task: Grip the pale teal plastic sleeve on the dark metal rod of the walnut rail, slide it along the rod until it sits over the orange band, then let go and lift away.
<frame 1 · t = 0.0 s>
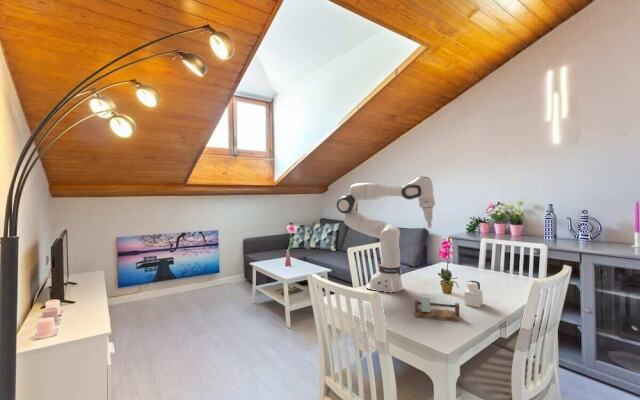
hand: (429, 226, 183), 39 cm above the table, tool pointing down, fingers open, 8 cm apart
marker sleeve: (425, 302, 151), point 6 cm above the table, slide at 0.0 cm
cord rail: (436, 315, 150), on the table
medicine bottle: (473, 304, 163), on the table
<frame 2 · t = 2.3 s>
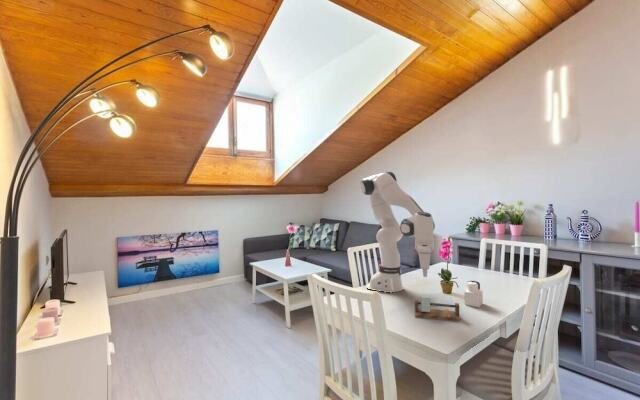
hand: (425, 273, 151), 20 cm above the table, tool pointing down, fingers open, 8 cm apart
nothing on the table moved.
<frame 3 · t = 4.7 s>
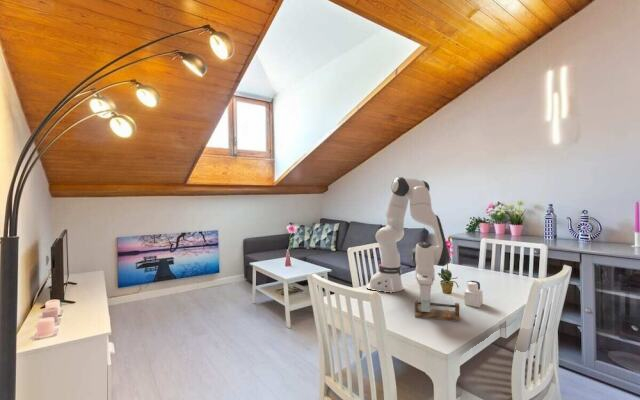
hand: (425, 303, 151), 6 cm above the table, tool pointing down, fingers closed on marker sleeve, 5 cm apart
marker sleeve: (425, 302, 151), point 6 cm above the table, slide at 0.0 cm, touching gripper
everything else where it was.
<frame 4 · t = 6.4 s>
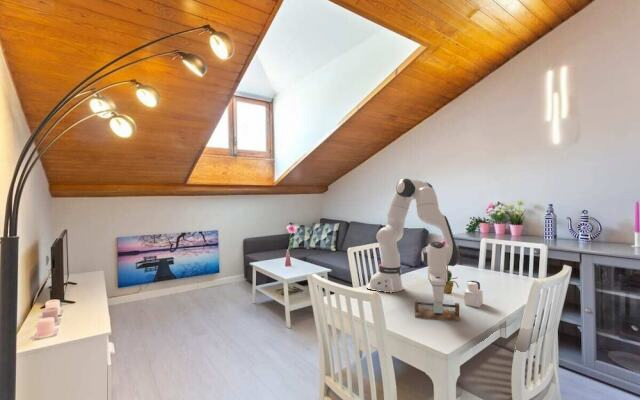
hand: (438, 304, 149), 6 cm above the table, tool pointing down, fingers closed on marker sleeve, 5 cm apart
marker sleeve: (437, 303, 149), point 6 cm above the table, slide at 5.7 cm, touching gripper
everything else where it was.
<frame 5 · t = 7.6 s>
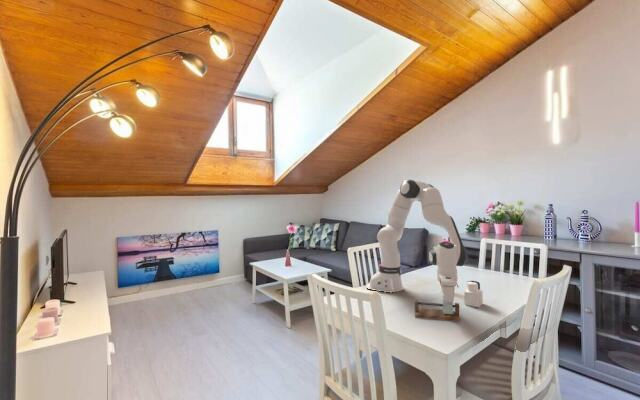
hand: (447, 305, 148), 6 cm above the table, tool pointing down, fingers closed on marker sleeve, 5 cm apart
marker sleeve: (447, 304, 148), point 6 cm above the table, slide at 10.0 cm, touching gripper
everything else where it was.
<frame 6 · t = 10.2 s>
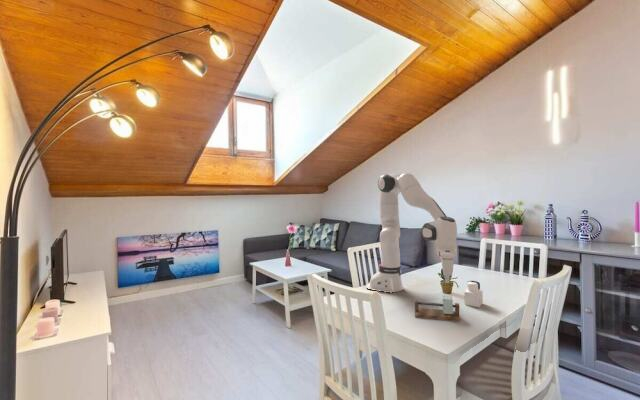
hand: (446, 279, 148), 18 cm above the table, tool pointing down, fingers open, 8 cm apart
marker sleeve: (447, 304, 148), point 6 cm above the table, slide at 10.0 cm
everything else where it was.
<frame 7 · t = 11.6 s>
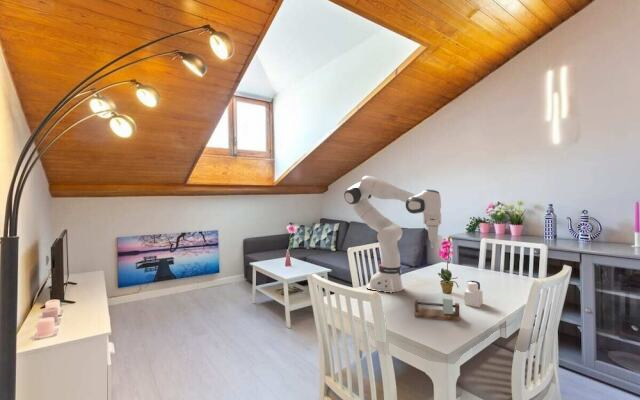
hand: (432, 246, 164), 31 cm above the table, tool pointing down, fingers open, 8 cm apart
nothing on the table moved.
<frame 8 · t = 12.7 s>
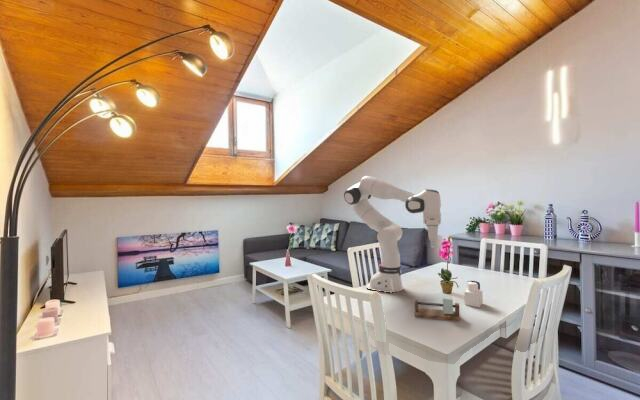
hand: (432, 245, 164), 31 cm above the table, tool pointing down, fingers open, 8 cm apart
nothing on the table moved.
at the end: marker sleeve slide at 10.0 cm; the gripper is holding nothing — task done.
